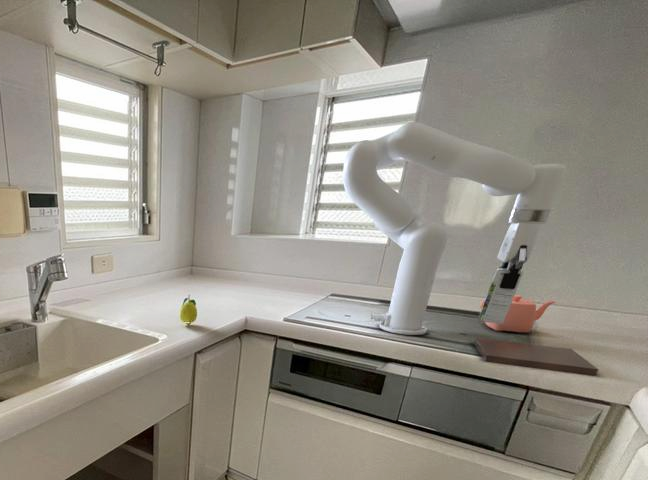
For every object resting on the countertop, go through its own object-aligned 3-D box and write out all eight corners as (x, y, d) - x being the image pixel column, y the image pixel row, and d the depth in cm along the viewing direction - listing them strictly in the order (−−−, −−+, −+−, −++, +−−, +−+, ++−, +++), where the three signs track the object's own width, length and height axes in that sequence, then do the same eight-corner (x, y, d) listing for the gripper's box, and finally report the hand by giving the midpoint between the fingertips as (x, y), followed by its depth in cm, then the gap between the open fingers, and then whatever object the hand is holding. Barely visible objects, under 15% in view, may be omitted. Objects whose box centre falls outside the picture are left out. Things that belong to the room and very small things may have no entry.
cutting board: (484, 360, 99) (486, 355, 99) (473, 343, 112) (474, 337, 112) (595, 375, 90) (598, 369, 90) (569, 354, 103) (571, 348, 103)
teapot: (468, 321, 133) (478, 290, 129) (537, 327, 126) (550, 294, 122) (478, 330, 123) (489, 296, 119) (554, 337, 116) (568, 302, 112)
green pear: (181, 328, 127) (182, 297, 123) (175, 323, 132) (176, 293, 128) (201, 326, 129) (202, 295, 125) (194, 322, 134) (195, 292, 130)
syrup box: (478, 317, 119) (495, 267, 114) (504, 320, 116) (523, 269, 110) (477, 321, 115) (495, 269, 110) (504, 324, 112) (524, 271, 106)
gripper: (502, 216, 113) (480, 280, 120) (519, 217, 99) (493, 290, 106) (536, 217, 110) (512, 283, 117) (559, 218, 96) (530, 293, 103)
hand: (503, 285), depth 112 cm, fingers closed on syrup box, 6 cm apart
